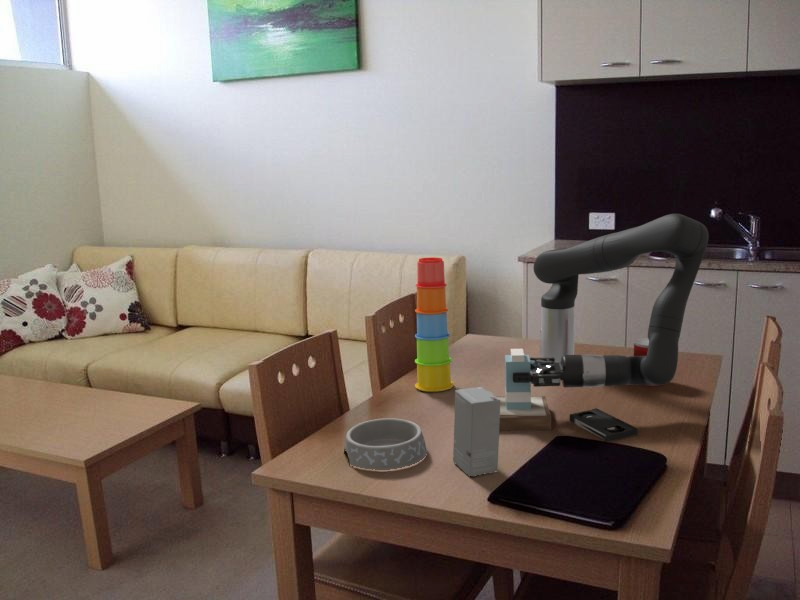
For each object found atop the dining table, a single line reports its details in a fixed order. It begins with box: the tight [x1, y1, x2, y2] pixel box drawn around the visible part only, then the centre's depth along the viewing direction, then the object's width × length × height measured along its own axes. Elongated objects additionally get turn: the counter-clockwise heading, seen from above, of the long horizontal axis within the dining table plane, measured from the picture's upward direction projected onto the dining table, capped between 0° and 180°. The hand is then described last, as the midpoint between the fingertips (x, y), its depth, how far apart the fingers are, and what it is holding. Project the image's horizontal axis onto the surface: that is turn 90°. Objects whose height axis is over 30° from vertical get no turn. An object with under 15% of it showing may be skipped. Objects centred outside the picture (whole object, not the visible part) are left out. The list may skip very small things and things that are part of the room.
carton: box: [504, 348, 532, 410], centre depth 178 cm, size 6×6×13 cm
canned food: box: [633, 337, 658, 387], centre depth 200 cm, size 8×8×11 cm
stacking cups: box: [414, 257, 454, 393], centre depth 201 cm, size 10×10×35 cm
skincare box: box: [452, 386, 500, 477], centre depth 153 cm, size 8×7×16 cm
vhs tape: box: [569, 407, 639, 442], centre depth 172 cm, size 14×8×2 cm, turn 23°
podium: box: [494, 395, 552, 431], centre depth 179 cm, size 14×14×3 cm
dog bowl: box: [343, 417, 428, 470], centre depth 163 cm, size 17×18×5 cm
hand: (511, 371), depth 177 cm, fingers open, 8 cm apart
